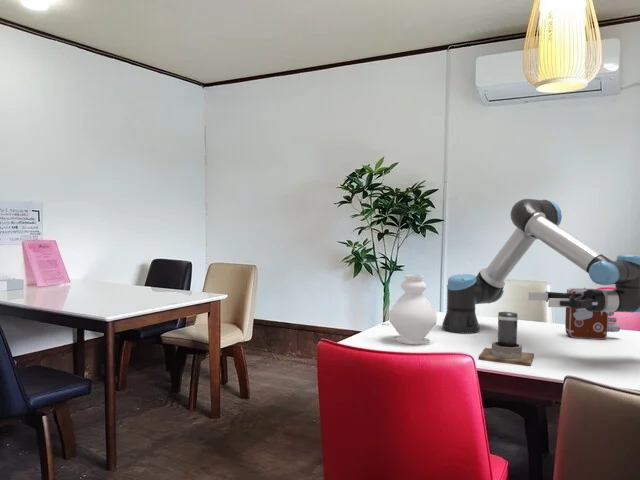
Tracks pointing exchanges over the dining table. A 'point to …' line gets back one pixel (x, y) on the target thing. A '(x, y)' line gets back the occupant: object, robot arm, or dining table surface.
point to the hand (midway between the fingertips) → (538, 299)
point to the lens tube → (507, 329)
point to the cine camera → (588, 321)
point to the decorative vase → (413, 312)
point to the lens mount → (507, 355)
